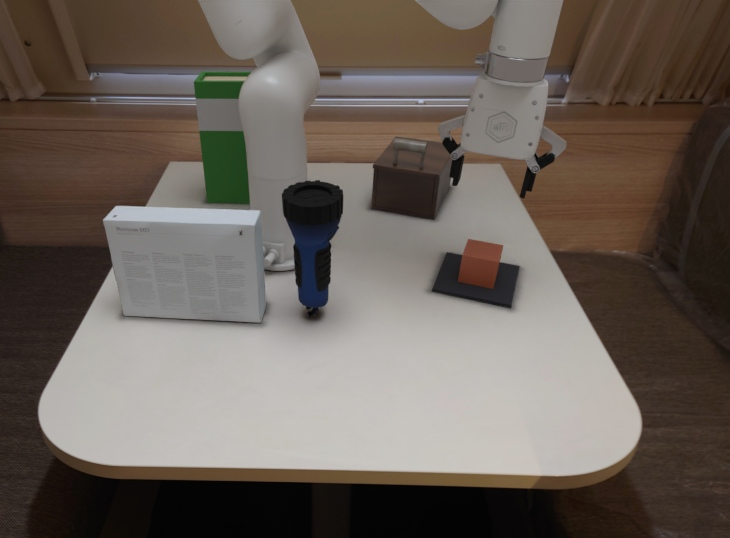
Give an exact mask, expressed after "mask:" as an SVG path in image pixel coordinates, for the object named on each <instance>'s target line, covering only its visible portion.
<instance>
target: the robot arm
mask: <svg viewBox="0 0 730 538" xmlns="http://www.w3.org/2000/svg"><path fill="white" fill-rule="evenodd" d="M414 1H415V2H416V3H417V4H418V5H419V6H420V7H421V8H423V9H424V10H425V11H426V12H427V13H429V14H430V15H431V16H432V17H433V18H434V19H436V20H438V21H439V22H440V23H441V24H443V25H445V26H446V27H449V28H451V29H454V30H458V31H462V30H463V31H464V30H465V31H466V30H471V29H473V28H476V27H479V26H480V25H482V24H484V22H486V21H487V20H488V19H489V18H490V17H493V19H494V20H493V25H492V31H491V37H490V41H489V45H488V46H489V47H488V50H487V51H486V52H485V53H484V52H483V53H476V55H475V59H474V60H475V61H474V65H475V66H479V67H482V69H483V72H481V73H479V74H478V75H477V77H476V79H475V81H474V85H473V87H472V90H471V94H470V96H469V100H468V105H467V109H466V112H465V114H463V115H460V116H456V117H454V118H451V119H447V120H444V121H442V122H440V123H439V125H438V126H437V132H438V135H439V137H440V139H441V142H442V144H443V146H444V147H445V148H446V150H447V151H448V152H449V154H450V157H451V159H452V164H451V170H450V175H449V177H450V178H451V179H452V183H451V186H452V187H458V185H459V183H460V181H461V177H462V172H463V168H464V161H465V158H466V157H465V153H467V152H470V153H474V154H479V155H486V156H492V157H497V158H503V159H510V160H518V161H524V162H525V163H526V165H527V166H526V169H525V173H524V174H525V175H524V178H523V182H522V186H521V189H520V194H519V198H520V199H524V200H525V198H526V195H527V192H529V193H531V192H532V191H533V188H534V185H535V182H536V181H535V180H536V177H537V174H538V173H539V172H540V171H541V170H542V169H544V168H546V167H548V166H549V165H551V164H553V163H554V162H555V160H556V159H557V158H559V156H561V154H562V153H563V152H564V151H565V150H566V149H567V145H568V143H567V140H565V139H564V138H563V137H561V136H560V135H558V134H557V133H555V132H554V131H553V130H551V129H550V128H549V127H548V126H546V125H545V124H544V121H545V116H546V111H547V106H548V96H549V81H548V80H547V79H546V78H545V75H546V73H547V72H546V71H547V68H548V63H549V59H550V55H551V52H552V48H553V44H554V40H555V35H556V32H557V28H558V23H559V20H560V16H561V12H562V7H563V4H564V0H414ZM197 2H198V4H199V6H200V8H201V10H202V13H203V15H204V17H205V19H206V21H207V23H208V26H209V27H210V30H211V32H212V34H213V36H214V39H215V41H216V43H217V44H218V46H219V47H220V49H221V50H222V51H223V52H224V53H225V54H226V55H227V56H229V57H230V58H232V59H234V60H239V61H240V60H241V61H242V60H243V61H245V60H250V59H252V60H253V61H254V64H255V66H256V67H255V69H253V70H251V71H250V72H251V73H250V74H249V76H248V77H247V78H246V80H245V81H244V83H243V85H242V87H241V90H240V94H239V114H240V119H241V124H242V128H243V133H244V138H245V145H246V155H247V169H248V181H249V196H250V203H249V210H260V211H261V226H262V243H263V261H264V270H267V271H272V272H273V271H274V272H283V271H284V272H285V271H291V270H295V268H294V266H295V265H294V249H293V246H294V244H295V239H294V237H293V235H292V233H291V230H290V228H289V226H288V223H287V221H286V218H285V217H284V213H283V205H282V193H283V190H284V189H285V188H288V186H290V185H294V184H296V183H298V182H305V181H308V149H307V139H306V133H305V123H304V121H305V120H304V119H305V114H306V112H307V111H308V110H309V108H310V107H311V106H312V105H313V103H314V102H315V101H316V99H317V97H318V96H319V93H320V88H321V74H320V69H319V66H318V64H317V60H316V58H315V56H314V52H313V50H312V48H311V45H310V43H309V41H308V38H307V35H306V33H305V30H304V28H303V26H302V23H301V21H300V18H299V16H298V13H297V11H296V8H295V6H294V5H293V2H292V0H197ZM460 128H462V130H461V136H460V142H459V143H457V141H456V140H455V139H454V136H452V133H451V131H453V130H456V129H460ZM540 139H542V140H543V141H545V143H547V144H549V145H550V146H551V148H550V149H549V151H547V152H545V153H544V154H542V155H540V156H539V154H538V153H537V149H538V146H539V143H540Z"/></svg>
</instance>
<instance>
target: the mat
mask: <svg viewBox="0 0 730 538" xmlns="http://www.w3.org/2000/svg"><path fill="white" fill-rule="evenodd" d="M462 255H463V254H459V253H453V252H449V251H446V253H445V255H444V258H443V260H442V263H441V264H440V265H441V266H440V268H439V270H438V273H437V275H436V278H435V279H434V280H435V281H434V283H433V285H432V288H431V292H433V293H439V294H442V295H446V296H452V297H457V298H461V299H467V300H471V301H475V302H479V303H485V304H490V305H494V306H499V307H503V308H507V309H508V308H509V309H511V308H512V306H513V300H514V296H515V290H516V285H517V279H518V276H519V275H518V274H519V269H520V265H518V264H512V263H507V262H501V261H500V263H499V268H498V272H497V276H496V280H495V284H494V288H493V289H491V288H486V287H481V286H476V285H471V284H466V283H461V282H458V278H459V272H460V266H461V260H462Z"/></svg>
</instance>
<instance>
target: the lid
mask: <svg viewBox="0 0 730 538" xmlns="http://www.w3.org/2000/svg"><path fill="white" fill-rule="evenodd" d="M449 159H450V154H449V152H448V151H447V150H446V148H445V147H444V146H443V144H442V141H432V140H426V139H418V138H412V137H411V138H410V137H403V136H395V137H393V139H392V141H391V142H390V143H389V144H388V145H387V146H386V148H385V149H384V150H383V151H382V152H381V154H380V155H379V156H378V157H377V158H376V160H375V161H374V163H373V164H372V169H373V170H374V169H380V170H387V171H394V172H400V173H407V174H414V175H420V176H427V177H434V178H439V177H440V175H441V174H442V172H443V170H444V168H445V166H446V164H447V162H448V161H449Z"/></svg>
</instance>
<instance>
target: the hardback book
mask: <svg viewBox="0 0 730 538" xmlns="http://www.w3.org/2000/svg"><path fill="white" fill-rule="evenodd" d="M251 72H252V71H217V70H216V71H209V70H208V71H204V70H203V71H201V72H200V73H199V74H198V76H197V77H195V79H194V81H193V89H194V96H195V106H196V114H197V124H198V132H199V141H200V150H201V159H202V168H203V176H204V184H205V193H206V194H205V195H206V202H207V204H250V196H249V181H248V169H247V155H246V145H245V138H244V133H243V128H242V124H241V119H240V114H239V94H240V90H241V87H242V85H243V83H244V81H245V80H246V78H247V77H248V76H249V74H250V73H251Z"/></svg>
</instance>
